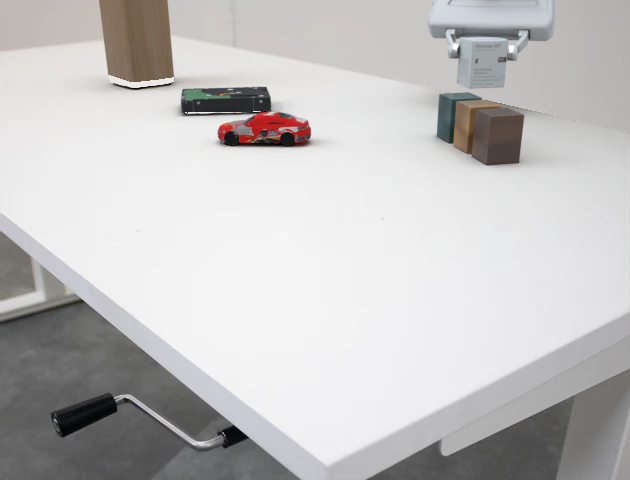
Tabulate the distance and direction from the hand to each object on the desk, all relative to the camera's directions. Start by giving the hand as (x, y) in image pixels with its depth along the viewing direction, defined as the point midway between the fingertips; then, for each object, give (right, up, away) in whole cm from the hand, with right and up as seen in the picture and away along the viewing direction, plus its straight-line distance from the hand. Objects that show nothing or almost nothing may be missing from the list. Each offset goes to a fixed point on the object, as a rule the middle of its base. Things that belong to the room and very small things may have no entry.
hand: (482, 57), depth 121 cm
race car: (-34, -17, -14) cm, 41 cm away
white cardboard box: (0, -4, +2) cm, 5 cm away
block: (-62, +5, +31) cm, 69 cm away
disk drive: (-42, -6, +8) cm, 43 cm away
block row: (-5, -19, -19) cm, 27 cm away
